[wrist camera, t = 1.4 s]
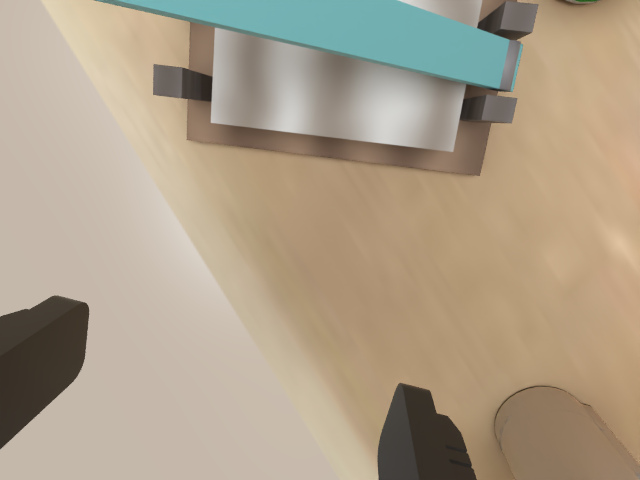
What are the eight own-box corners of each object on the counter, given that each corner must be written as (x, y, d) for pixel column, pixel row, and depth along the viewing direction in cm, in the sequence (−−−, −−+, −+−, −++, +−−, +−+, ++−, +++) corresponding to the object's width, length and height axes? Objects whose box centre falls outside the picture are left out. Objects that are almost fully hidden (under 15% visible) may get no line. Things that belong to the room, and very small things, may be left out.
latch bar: (505, 45, 30) (527, 44, 29) (496, 91, 31) (516, 91, 30) (82, -97, 15) (90, -112, 14) (84, -1, 16) (93, -7, 15)
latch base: (514, -24, 36) (573, -76, 26) (473, 173, 40) (511, 190, 31) (201, -56, 37) (147, -118, 27) (194, 139, 41) (145, 145, 32)
